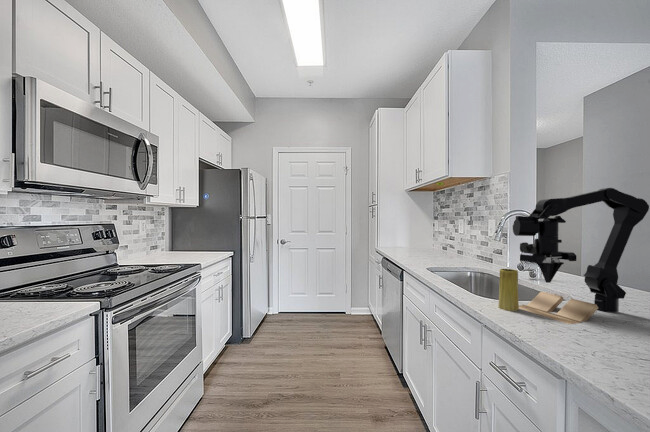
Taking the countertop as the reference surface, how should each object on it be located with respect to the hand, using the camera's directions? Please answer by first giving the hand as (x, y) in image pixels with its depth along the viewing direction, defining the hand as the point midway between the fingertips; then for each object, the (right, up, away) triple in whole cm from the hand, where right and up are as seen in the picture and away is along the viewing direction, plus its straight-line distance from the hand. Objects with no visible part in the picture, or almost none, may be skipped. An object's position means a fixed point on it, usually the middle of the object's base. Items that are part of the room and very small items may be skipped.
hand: (547, 282), depth 112 cm
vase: (-15, -10, -2) cm, 18 cm away
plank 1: (-1, -7, -1) cm, 7 cm away
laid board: (-7, -10, -8) cm, 14 cm away
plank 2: (+2, -7, -11) cm, 13 cm away
